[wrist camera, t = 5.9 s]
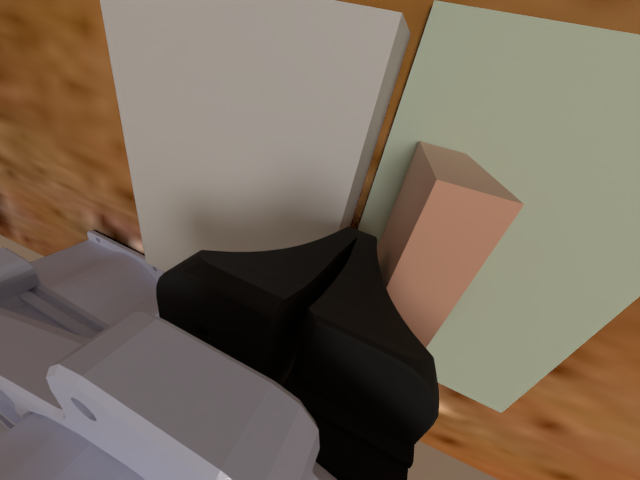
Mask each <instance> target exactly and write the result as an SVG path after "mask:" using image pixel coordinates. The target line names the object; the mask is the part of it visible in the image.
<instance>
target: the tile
mask: <svg viewBox="0 0 640 480" xmlns="http://www.w3.org/2000/svg"><path fill="white" fill-rule="evenodd" d="M523 206H524V204H523V203H522V202H521V201H520V200H519V199H518V198H516V197H515V196H514V195H513V194H512V193H511V192H510V191H508V190H507V189H506V188H505V187H504V186H503V185H502V184H500V183H499V182H498V181H497V180H496V179H495V178H494V177H492V176H491V175H490V174H489V173H488V172H487V171H486V170H484V169H483V168H482V167H481V166H480V165H479V164H478V163H477V162H475V161H474V160H473V159H472V158H471V157H470V156H469V155H467V154H466V153H462V152H458V151H455V150H451V149H447V148H443V147H440V146H436V145H432V144H429V143H425V142H421V141H419V144H418V146H417V149H416V151H415V154H414V156H413V159H412V161H411V164H410V166H409V169H408V171H407V174H406V176H405V179H404V182H403V184H402V187H401V189H400V192H399V194H398V197H397V199H396V202H395V204H394V207H393V209H392V212H391V214H390V217H389V219H388V222H387V224H386V227H385V230H384V232H383V235H382V237H381V240H380V242H379V245H378V247H377V255H378V261H379V266H380V270H381V274H382V278H383V281H384V283H385V286H386V289H387V291H388V293H389V296H390V298H391V300H392V302H393V304H394V305H395V307H396V309H397V310H398V312H399V314H400V315H401V317H402V318H403V320H404V321H405V323H406V324H407V325H408V327H409V328H410V330H411V331H412V332H413V334H414V335H415V336H416V337H417V338H418V340H419V341H420V342H421V343H422V344H423V345H424V347H425V348H426V347H427V346H428V344H429V343H430V342H431V340H432V339H433V337H434V336H435V334H436V333H437V331H438V330H439V328H440V327H441V325H442V324H443V323H444V321H445V320H446V318H447V317H448V315H449V314H450V312H451V311H452V309H453V308H454V306H455V305H456V304H457V302H458V301H459V299H460V298H461V296H462V295H463V293H464V292H465V290H466V289H467V287H468V286H469V285H470V283H471V282H472V280H473V279H474V277H475V276H476V274H477V273H478V271H479V270H480V268H481V267H482V266H483V264H484V263H485V261H486V260H487V258H488V257H489V255H490V254H491V252H492V251H493V249H494V248H495V247H496V245H497V244H498V242H499V241H500V239H501V238H502V236H503V235H504V233H505V232H506V230H507V229H508V228H509V226H510V225H511V223H512V222H513V220H514V219H515V217H516V216H517V214H518V213H519V211H520V210H521V209H522V207H523Z"/></svg>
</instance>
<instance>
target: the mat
mask: <svg viewBox="0 0 640 480" xmlns="http://www.w3.org/2000/svg"><path fill="white" fill-rule="evenodd" d="M419 141H421V142H425V143H429V144H432V145H436V146H440V147H443V148H447V149H451V150H455V151H458V152H462V153H466V154H467V155H469V156H470V157H471V158H472V159H473V160H474V161H475V162H477V163H478V164H479V165H480V166H481V167H482V168H483V169H484V170H486V171H487V172H488V173H489V174H490V175H491V176H492V177H494V178H495V179H496V180H497V181H498V182H499V183H500V184H502V185H503V186H504V187H505V188H506V189H507V190H508V191H510V192H511V193H512V194H513V195H514V196H515V197H516V198H518V199H519V200H520V201H521V202H522V203H523V204H524V206H523V207H522V209H521V210H520V211H519V213H518V214H517V216H516V217H515V219H514V220H513V222H512V223H511V225H510V226H509V228H508V229H507V230H506V232H505V233H504V235H503V236H502V238H501V239H500V241H499V242H498V244H497V245H496V247H495V248H494V249H493V251H492V252H491V254H490V255H489V257H488V258H487V260H486V261H485V263H484V264H483V266H482V267H481V268H480V270H479V271H478V273H477V274H476V276H475V277H474V279H473V280H472V282H471V283H470V285H469V286H468V287H467V289H466V290H465V292H464V293H463V295H462V296H461V298H460V299H459V301H458V302H457V304H456V305H455V306H454V308H453V309H452V311H451V312H450V314H449V315H448V317H447V318H446V320H445V321H444V323H443V324H442V325H441V327H440V328H439V330H438V331H437V333H436V334H435V336H434V337H433V339H432V340H431V342H430V343H429V344H428V346H427V347H426V349H427V350H428V351H429V352H430V354H431V355H432V356H433V357H434V362H435V368H436V374H437V381H438V383H440V384H442V385H444V386H446V387H448V388H450V389H452V390H455V391H457V392H459V393H461V394H463V395H465V396H467V397H469V398H471V399H473V400H475V401H477V402H479V403H481V404H484V405H486V406H488V407H490V408H492V409H494V410H496V411H498V412H500V413H502V412H503V411H504V410H505V409H507V408H508V407H509V406H510V405H511V404H513V403H514V402H515V401H516V400H517V399H518V398H520V397H521V396H522V395H523V394H524V393H526V392H527V391H528V390H529V389H530V388H531V387H533V386H534V385H535V384H536V383H537V382H539V381H540V380H541V379H542V378H543V377H545V376H546V375H547V374H548V373H549V372H550V371H552V370H553V369H554V368H555V367H556V366H558V365H559V364H560V363H561V362H562V361H563V360H565V359H566V358H567V357H568V356H569V355H571V354H572V353H573V352H574V351H575V350H576V349H578V348H579V347H580V346H581V345H582V344H584V343H585V342H586V341H587V340H588V339H589V338H591V337H592V336H593V335H594V334H595V333H597V332H598V331H599V330H600V329H601V328H603V327H604V326H605V325H606V324H607V323H608V322H610V321H611V320H612V319H613V318H614V317H616V316H617V315H618V314H619V313H620V312H621V311H623V310H624V309H625V308H626V307H627V306H629V305H630V304H631V303H632V302H633V301H634V300H636V299H637V298H638V297H639V296H640V35H638V34H632V33H626V32H620V31H614V30H608V29H602V28H596V27H590V26H584V25H578V24H572V23H567V22H561V21H555V20H549V19H543V18H537V17H531V16H525V15H519V14H513V13H507V12H501V11H495V10H489V9H483V8H477V7H471V6H465V5H459V4H453V3H447V2H441V1H435V0H434V3H433V6H432V9H431V12H430V15H429V18H428V21H427V24H426V27H425V30H424V33H423V36H422V39H421V42H420V45H419V48H418V51H417V54H416V57H415V60H414V63H413V66H412V69H411V72H410V75H409V78H408V81H407V84H406V87H405V89H404V92H403V95H402V98H401V101H400V104H399V107H398V110H397V113H396V116H395V119H394V122H393V125H392V128H391V131H390V134H389V137H388V140H387V143H386V146H385V149H384V152H383V155H382V158H381V161H380V164H379V167H378V170H377V173H376V176H375V179H374V182H373V185H372V188H371V191H370V194H369V197H368V200H367V203H366V206H365V209H364V212H363V215H362V218H361V221H360V224H359V227H358V230H359V231H362V232H365V233H367V234H370V235H373V236H375V237H376V238H377V240H378V241H377V247H378V245H379V242H380V240H381V237H382V235H383V232H384V230H385V227H386V224H387V222H388V219H389V217H390V214H391V212H392V209H393V207H394V204H395V202H396V199H397V197H398V194H399V192H400V189H401V187H402V184H403V182H404V179H405V176H406V174H407V171H408V169H409V166H410V164H411V161H412V159H413V156H414V154H415V151H416V149H417V146H418V144H419Z"/></svg>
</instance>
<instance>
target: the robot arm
mask: <svg viewBox="0 0 640 480" xmlns="http://www.w3.org/2000/svg"><path fill="white" fill-rule="evenodd" d="M87 235H88V238H89V240H87V241H84V242H82V243H79V244H77V245H74V246H72V247H69V248H66V249H64V250H61V251H59V252H56V253H54V254H51V255H48V256H46V257H43V258H41V259H38V260H36V261H33V262H29V261H28V260H26V259H25V258H23V257H21V256H19V255H18V254H16V253H14V252H13V251H11V250H9V249H7V248H3V247H2V248H0V480H407V473H408V468H410V467H411V466H412V464H413V457H414V445H415V444H416V442H417V441H418V440H419V439H420V438H421V437H422V436H423V435H424V434H425V433H426V432H427V431H428V430H429V429H430V428H431V427H432V426H433V424H434V422H435V421H436V419H437V417H438V410H439V388H438V381H437V374H436V368H435V362H434V357H433V356H432V355H431V354H430V352H429V351H428V350H427V349H426V348H425V347H424V345H423V344H422V343H421V342H420V341H419V340H418V338H417V337H416V336H415V335H414V334H413V332H412V331H411V330H410V328H409V327H408V325H407V324H406V323H405V321H404V320H403V318H402V317H401V315H400V314H399V312H398V310H397V309H396V307H395V305H394V304H393V302H392V300H391V298H390V296H389V293H388V291H387V289H386V286H385V283H384V281H383V278H382V274H381V270H380V266H379V261H378V255H377V241H378V240H377V238H376V237H375V236H373V235H370V234H367V233H365V232H362V231H359V230H357V229H354V228H352V227H346V228H344V229H342V230H339V231H337V232H335V233H333V234H331V235H328V236H326V237H323V238H321V239H318V240H315V241H312V242H309V243H306V244H302V245H298V246H294V247H289V248H284V249H276V250H268V251H255V252H227V251H210V250H200V251H199V252H197V253H195V254H194V255H192V256H190V257H189V258H187V259H186V260H184V261H182V262H181V263H179V264H177V265H176V266H174V267H173V268H171V269H169V270H168V271H166V272H164V271H162V270H160V269H158V268H156V267H154V266H152V265H150V264H148V263H146V259H145V256H144V255H141V254H139V253H137V252H135V251H133V250H131V249H129V248H127V247H125V246H123V245H121V244H119V243H117V242H115V241H113V240H111V239H109V238H107V237H105V236H103V235H101V234H99V233H97V232H95V231H93V230H91V231H89V232H87Z"/></svg>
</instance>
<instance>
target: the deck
mask: <svg viewBox="0 0 640 480" xmlns="http://www.w3.org/2000/svg"><path fill="white" fill-rule="evenodd" d="M100 3H101V9H102V15H103V20H104V26H105V32H106V37H107V43H108V49H109V55H110V60H111V66H112V72H113V77H114V83H115V89H116V94H117V100H118V106H119V111H120V117H121V123H122V128H123V134H124V140H125V145H126V151H127V157H128V162H129V168H130V174H131V180H132V185H133V191H134V197H135V202H136V208H137V214H138V219H139V225H140V231H141V236H142V242H143V248H144V253H145V259H146V263H148V264H150V265H152V266H154V267H156V268H158V269H160V270H162V271H164V272H166V271H168V270H169V269H171V268H173V267H174V266H176V265H177V264H179V263H181V262H182V261H184V260H186V259H187V258H189V257H190V256H192V255H194V254H195V253H197V252H199V251H200V250H210V251H227V252H255V251H268V250H276V249H284V248H289V247H294V246H298V245H302V244H306V243H309V242H312V241H315V240H318V239H321V238H323V237H326V236H328V235H331V234H333V233H335V232H337V231H339V230H342V229H344V228H346V227H350V226H351V222H352V219H353V216H354V213H355V210H356V207H357V203H358V200H359V197H360V194H361V191H362V188H363V184H364V181H365V178H366V175H367V172H368V168H369V165H370V162H371V159H372V156H373V153H374V149H375V146H376V143H377V140H378V137H379V134H380V130H381V127H382V124H383V121H384V118H385V115H386V111H387V108H388V105H389V102H390V99H391V96H392V92H393V89H394V86H395V83H396V80H397V77H398V73H399V70H400V67H401V64H402V61H403V58H404V54H405V51H406V48H407V45H408V42H409V39H410V35H411V34H410V31H409V29H408V26H407V24H406V21H405V19H404V16H403V13H401V12H395V11H390V10H385V9H379V8H374V7H368V6H363V5H357V4H352V3H346V2H341V1H335V0H100Z"/></svg>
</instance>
